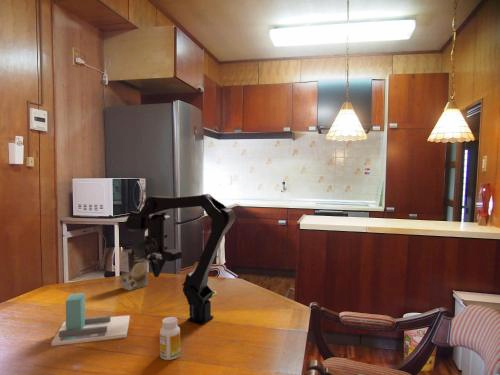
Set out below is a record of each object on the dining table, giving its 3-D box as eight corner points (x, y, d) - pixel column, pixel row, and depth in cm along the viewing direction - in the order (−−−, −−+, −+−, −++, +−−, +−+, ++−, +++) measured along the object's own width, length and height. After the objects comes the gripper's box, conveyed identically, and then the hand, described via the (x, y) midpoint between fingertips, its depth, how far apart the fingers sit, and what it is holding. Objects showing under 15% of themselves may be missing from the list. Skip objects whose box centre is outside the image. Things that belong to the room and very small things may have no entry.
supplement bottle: (181, 349, 96) (181, 315, 95) (178, 360, 90) (178, 324, 90) (162, 350, 95) (162, 315, 95) (157, 360, 90) (157, 324, 90)
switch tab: (85, 324, 109) (84, 292, 108) (81, 332, 103) (80, 299, 103) (71, 325, 108) (70, 294, 107) (66, 334, 102) (65, 300, 101)
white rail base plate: (129, 318, 116) (129, 310, 116) (126, 337, 103) (126, 329, 102) (64, 324, 111) (64, 317, 111) (51, 345, 97) (51, 337, 97)
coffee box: (129, 291, 143) (128, 252, 142) (121, 287, 147) (120, 250, 146) (148, 285, 150) (148, 249, 149) (140, 282, 154) (139, 246, 153)
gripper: (118, 233, 116) (119, 278, 117) (159, 238, 107) (159, 288, 108) (143, 228, 126) (144, 270, 127) (182, 233, 117) (183, 278, 117)
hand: (156, 276), depth 119 cm, fingers closed
